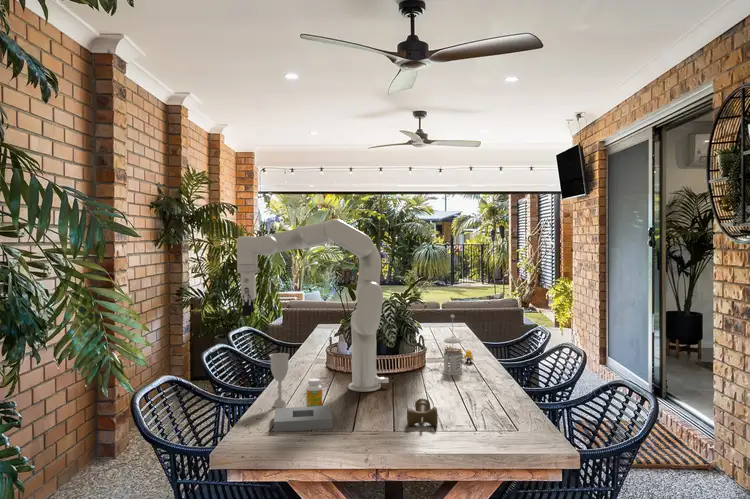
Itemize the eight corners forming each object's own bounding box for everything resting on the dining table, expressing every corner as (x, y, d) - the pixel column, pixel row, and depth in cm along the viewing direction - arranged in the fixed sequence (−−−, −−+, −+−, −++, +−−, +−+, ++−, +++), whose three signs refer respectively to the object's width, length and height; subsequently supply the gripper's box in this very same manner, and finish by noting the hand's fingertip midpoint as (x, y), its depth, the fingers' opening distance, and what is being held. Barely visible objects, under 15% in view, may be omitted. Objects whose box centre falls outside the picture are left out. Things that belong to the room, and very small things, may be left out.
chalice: (293, 403, 207) (293, 353, 206) (284, 409, 200) (284, 357, 200) (275, 401, 209) (274, 352, 208) (266, 407, 203) (265, 356, 202)
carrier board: (330, 414, 194) (330, 405, 194) (332, 428, 180) (332, 418, 180) (275, 417, 192) (275, 408, 191) (273, 431, 178) (273, 422, 178)
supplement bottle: (310, 410, 199) (309, 382, 198) (304, 406, 203) (304, 378, 203) (324, 408, 201) (324, 380, 201) (318, 404, 206) (318, 377, 205)
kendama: (437, 414, 195) (438, 432, 175) (408, 414, 196) (406, 433, 176) (436, 396, 195) (437, 413, 175) (408, 396, 196) (405, 413, 176)
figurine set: (471, 364, 264) (470, 350, 264) (442, 359, 276) (442, 346, 276) (475, 363, 267) (475, 349, 267) (447, 358, 278) (447, 344, 278)
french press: (468, 371, 252) (467, 313, 251) (456, 377, 242) (456, 317, 241) (447, 368, 257) (447, 312, 256) (435, 374, 247) (435, 315, 246)
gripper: (255, 270, 210) (256, 317, 211) (259, 267, 227) (260, 310, 228) (234, 270, 209) (235, 317, 210) (240, 267, 227) (240, 311, 227)
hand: (248, 314), depth 219 cm, fingers open, 9 cm apart
